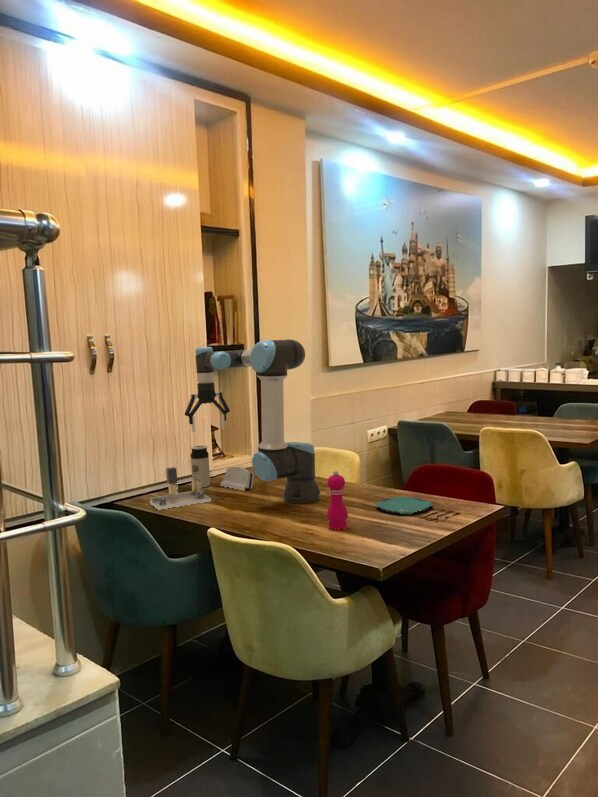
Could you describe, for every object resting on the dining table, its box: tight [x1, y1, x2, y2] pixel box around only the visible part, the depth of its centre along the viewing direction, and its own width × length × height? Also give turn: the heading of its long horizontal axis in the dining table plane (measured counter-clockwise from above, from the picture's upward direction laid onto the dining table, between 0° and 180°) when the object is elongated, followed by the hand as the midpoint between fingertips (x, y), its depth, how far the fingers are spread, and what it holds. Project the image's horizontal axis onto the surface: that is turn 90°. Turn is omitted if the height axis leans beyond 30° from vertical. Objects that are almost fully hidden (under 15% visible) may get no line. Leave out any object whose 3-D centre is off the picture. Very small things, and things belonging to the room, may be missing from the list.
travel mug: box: [190, 444, 211, 488], centre depth 289 cm, size 8×8×18 cm
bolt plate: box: [149, 478, 212, 511], centre depth 261 cm, size 22×12×8 cm, turn 118°
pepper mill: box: [326, 469, 349, 531], centre depth 219 cm, size 7×7×20 cm
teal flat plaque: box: [375, 496, 434, 515], centre depth 236 cm, size 20×30×2 cm, turn 41°
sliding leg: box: [165, 466, 179, 495], centre depth 261 cm, size 4×8×11 cm, turn 28°
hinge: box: [220, 466, 255, 492], centre depth 285 cm, size 17×5×10 cm, turn 46°
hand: (208, 430), depth 284 cm, fingers open, 13 cm apart
